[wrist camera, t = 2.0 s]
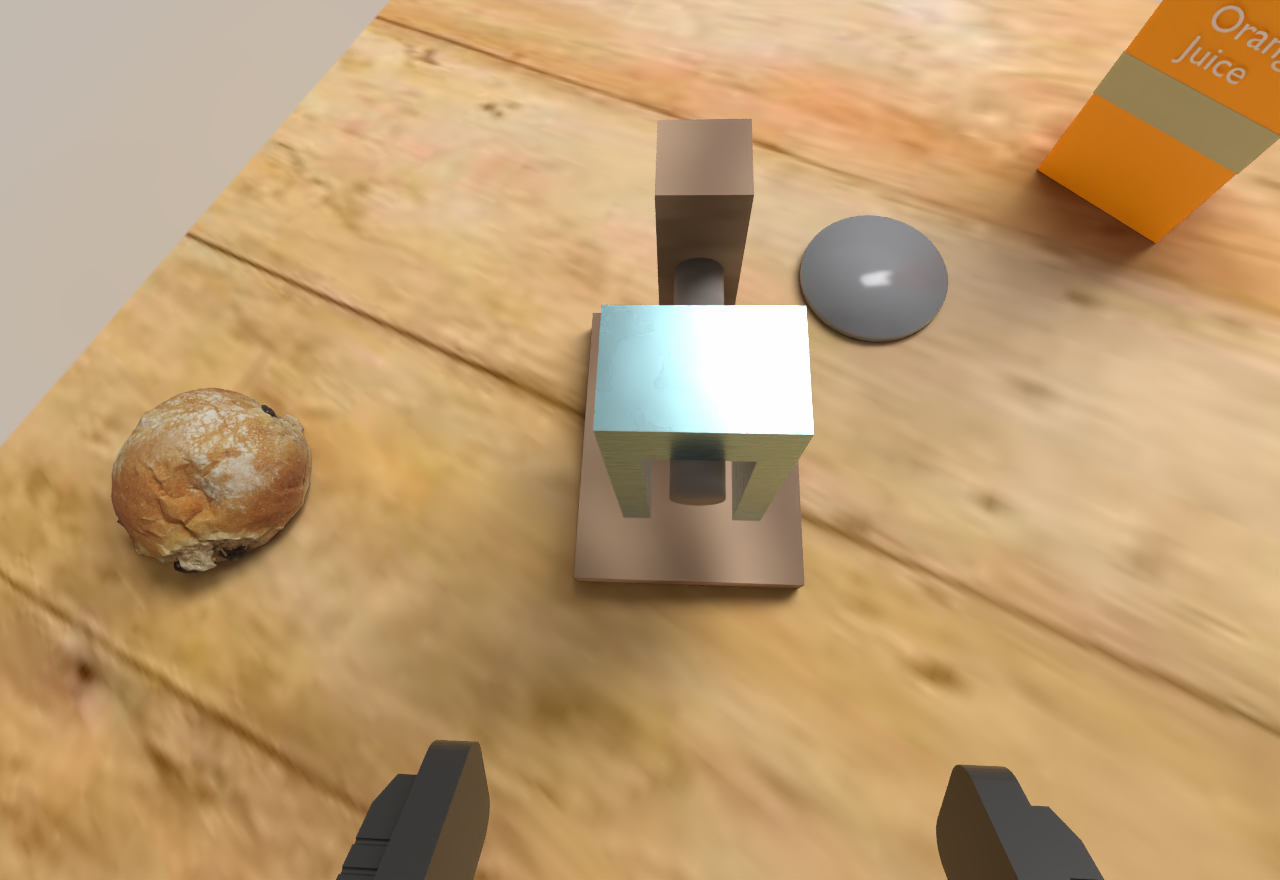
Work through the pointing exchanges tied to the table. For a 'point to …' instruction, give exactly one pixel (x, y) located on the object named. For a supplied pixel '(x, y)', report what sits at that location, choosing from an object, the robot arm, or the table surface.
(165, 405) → the bread roll
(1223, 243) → the table surface
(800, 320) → the c link
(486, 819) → the robot arm
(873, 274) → the coaster
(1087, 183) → the orange juice
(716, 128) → the stand
